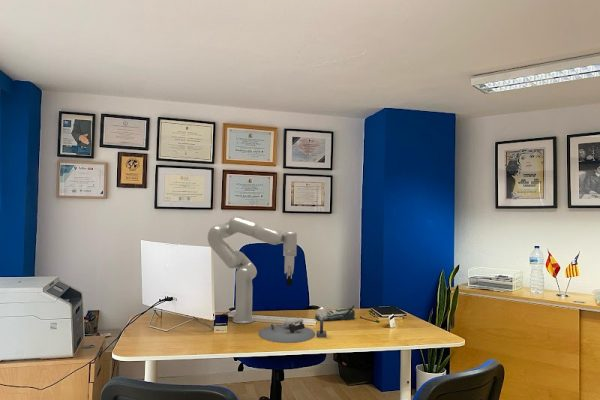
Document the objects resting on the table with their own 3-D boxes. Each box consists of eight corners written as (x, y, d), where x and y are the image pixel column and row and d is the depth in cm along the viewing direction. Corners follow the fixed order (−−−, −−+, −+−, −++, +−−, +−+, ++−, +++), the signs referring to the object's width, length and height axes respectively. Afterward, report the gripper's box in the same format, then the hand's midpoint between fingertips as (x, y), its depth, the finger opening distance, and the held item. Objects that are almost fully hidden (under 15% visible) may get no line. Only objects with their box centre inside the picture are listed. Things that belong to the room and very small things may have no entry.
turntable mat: (255, 342, 197) (255, 341, 197) (261, 324, 227) (261, 323, 227) (316, 343, 197) (316, 343, 197) (314, 325, 227) (314, 325, 227)
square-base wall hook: (315, 337, 207) (316, 308, 207) (315, 334, 212) (316, 305, 212) (327, 337, 207) (328, 308, 207) (326, 334, 212) (327, 305, 212)
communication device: (311, 317, 245) (311, 303, 246) (347, 315, 253) (347, 300, 253) (318, 323, 234) (318, 307, 234) (356, 320, 241) (356, 305, 241)
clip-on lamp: (271, 338, 212) (305, 331, 212) (269, 327, 211) (303, 319, 212) (272, 329, 223) (304, 322, 224) (269, 318, 223) (301, 311, 223)
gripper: (283, 251, 238) (283, 282, 237) (282, 254, 223) (281, 288, 222) (296, 251, 237) (296, 283, 237) (296, 254, 223) (295, 288, 222)
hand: (289, 285), depth 230 cm, fingers closed
